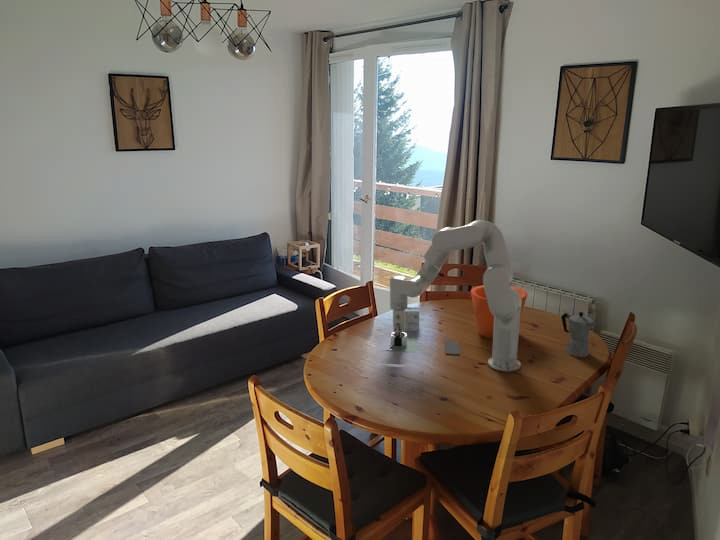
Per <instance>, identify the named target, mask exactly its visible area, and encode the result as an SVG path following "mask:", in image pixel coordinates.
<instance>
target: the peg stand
mask: <svg viewBox="0 0 720 540" xmlns="http://www.w3.org/2000/svg"><path fill="white" fill-rule="evenodd" d="M390 344H391V343H390ZM389 346H391V345H389ZM390 349H392V350H389V351H388V352H398V353H399V352H401V353H402V352H404V353H417V351H418V337H407V345H406V346H405V347H393V346H391V347H390Z"/></svg>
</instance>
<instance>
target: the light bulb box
mask: <svg viewBox="0 0 720 540" xmlns="http://www.w3.org/2000/svg"><path fill="white" fill-rule="evenodd" d="M405 316H406V327H405V331H409V332H413V331H414V332H420V308H419V306H408V308H407V309H406V310H405Z"/></svg>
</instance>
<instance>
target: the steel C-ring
mask: <svg viewBox="0 0 720 540" xmlns="http://www.w3.org/2000/svg"><path fill="white" fill-rule="evenodd" d="M390 337H391V345H392V346H393V347H400V346H394V337H395V332H394V331H393V332H391V333H390ZM401 337H402V346H401V347H405V346H406V345H407V338H408V333H407V332H401Z"/></svg>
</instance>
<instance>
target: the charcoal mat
mask: <svg viewBox="0 0 720 540" xmlns="http://www.w3.org/2000/svg"><path fill="white" fill-rule="evenodd" d="M444 353H445V354H452V355H451V356H460V355H461V354H460V353H461V352H460V345H459V341H458V340H444Z"/></svg>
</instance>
